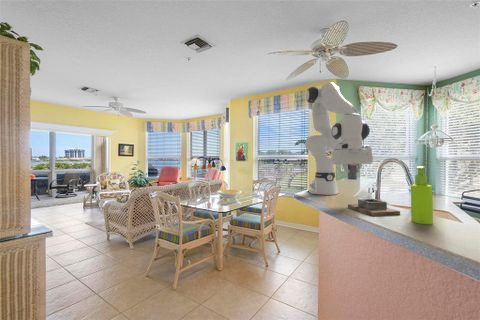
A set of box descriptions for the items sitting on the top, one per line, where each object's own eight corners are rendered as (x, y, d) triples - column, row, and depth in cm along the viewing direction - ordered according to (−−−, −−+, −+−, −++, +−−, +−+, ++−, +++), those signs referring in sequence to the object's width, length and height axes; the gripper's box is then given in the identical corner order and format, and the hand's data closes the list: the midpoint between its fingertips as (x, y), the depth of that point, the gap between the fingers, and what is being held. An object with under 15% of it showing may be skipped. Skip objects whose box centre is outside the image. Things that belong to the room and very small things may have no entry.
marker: (346, 178, 108) (345, 163, 108) (353, 178, 109) (353, 162, 109) (350, 179, 104) (350, 163, 104) (358, 179, 105) (358, 163, 105)
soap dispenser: (409, 222, 75) (409, 166, 76) (412, 218, 80) (411, 165, 80) (432, 226, 71) (431, 166, 71) (433, 221, 76) (432, 165, 76)
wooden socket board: (347, 207, 100) (347, 197, 100) (371, 206, 102) (371, 197, 102) (372, 216, 85) (372, 204, 85) (400, 214, 86) (399, 203, 86)
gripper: (366, 145, 111) (366, 172, 111) (329, 146, 108) (329, 173, 109) (375, 145, 104) (375, 173, 105) (336, 145, 102) (336, 174, 102)
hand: (352, 173), depth 107 cm, fingers closed on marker, 4 cm apart
